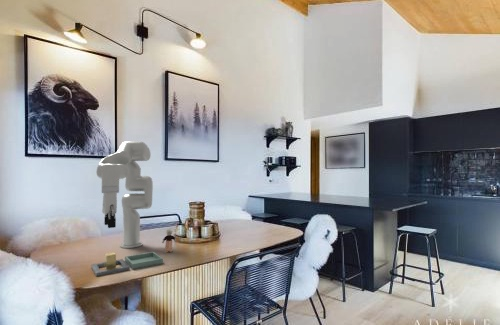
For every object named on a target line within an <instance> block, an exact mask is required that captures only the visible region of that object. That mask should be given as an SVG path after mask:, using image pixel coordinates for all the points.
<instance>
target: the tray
mask: <svg viewBox="0 0 500 325" xmlns="http://www.w3.org/2000/svg"><path fill="white" fill-rule="evenodd" d="M124 261H125V262H126V263H127V264H128V265H129V267H130V269H131V270H132V271H133V270H137V269H143V268H147V267H152V266H157V265H158V266H159V265H162V264H164V258H163V257H162V256H161V255H159V254H157V253H156V252H154V251H150V252H143V253H138V254H132V255H131V254H130V255H128V256H127V255H126V256H124Z"/></svg>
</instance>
